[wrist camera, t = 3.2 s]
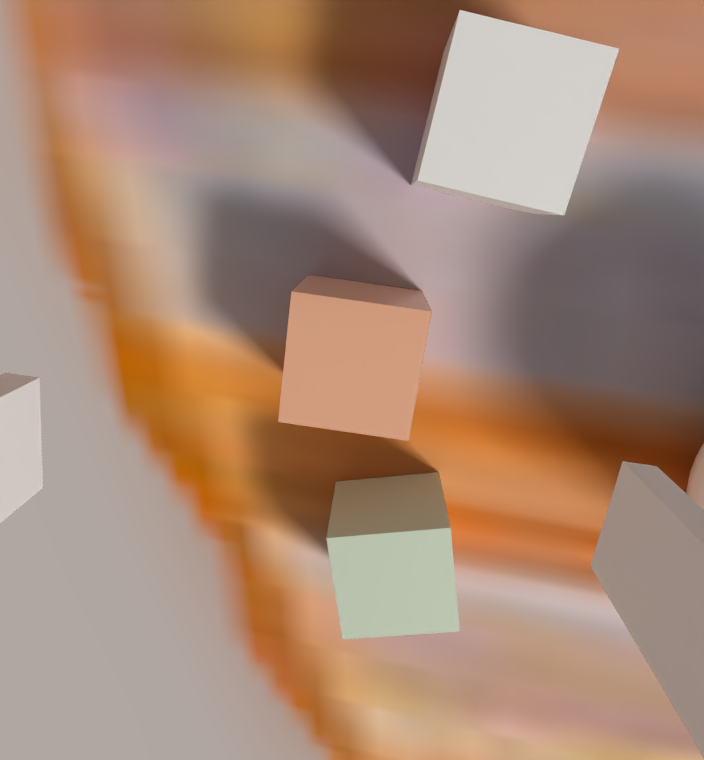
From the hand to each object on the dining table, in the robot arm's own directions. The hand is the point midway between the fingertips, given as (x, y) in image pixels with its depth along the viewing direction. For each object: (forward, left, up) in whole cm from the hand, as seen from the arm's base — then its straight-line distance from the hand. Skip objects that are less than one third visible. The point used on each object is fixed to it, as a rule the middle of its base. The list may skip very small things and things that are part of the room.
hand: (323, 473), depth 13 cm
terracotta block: (0, 0, -13) cm, 13 cm away
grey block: (-9, +4, -13) cm, 17 cm away
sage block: (+9, +3, -13) cm, 16 cm away
